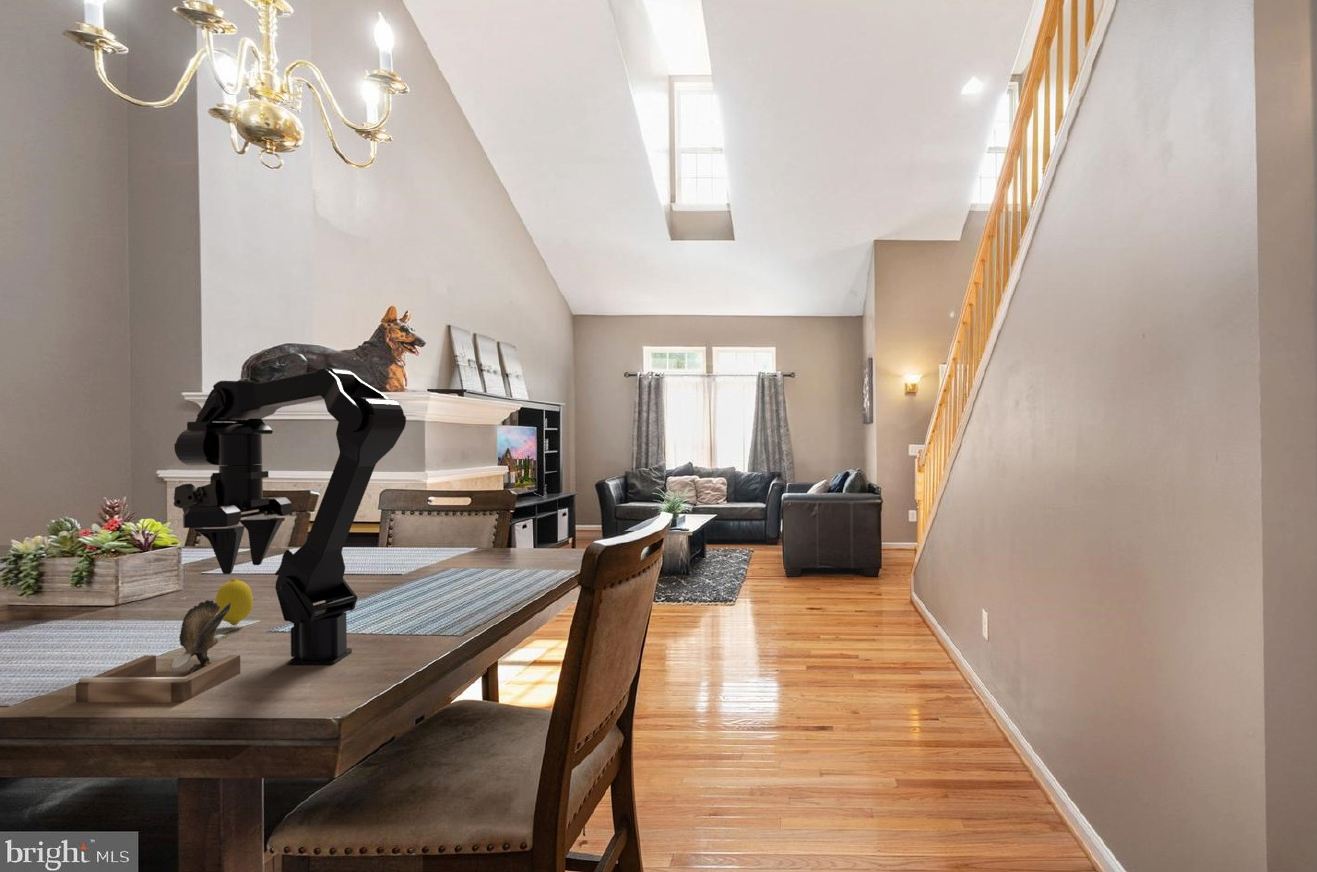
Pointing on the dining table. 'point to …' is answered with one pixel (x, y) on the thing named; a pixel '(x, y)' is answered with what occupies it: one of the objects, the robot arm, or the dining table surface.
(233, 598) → the lemon
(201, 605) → the eagle figurine
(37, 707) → the dining table surface
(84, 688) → the wooden tray
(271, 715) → the dining table surface
